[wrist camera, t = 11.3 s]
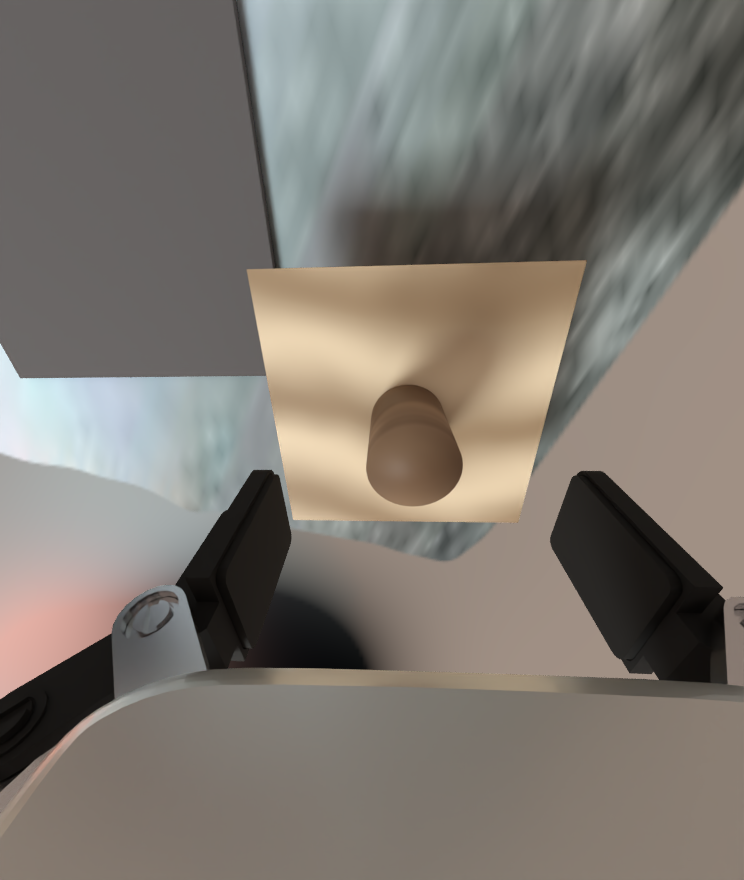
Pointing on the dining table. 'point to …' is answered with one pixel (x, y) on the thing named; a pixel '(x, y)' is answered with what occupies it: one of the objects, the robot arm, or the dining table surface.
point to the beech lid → (412, 384)
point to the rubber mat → (128, 190)
